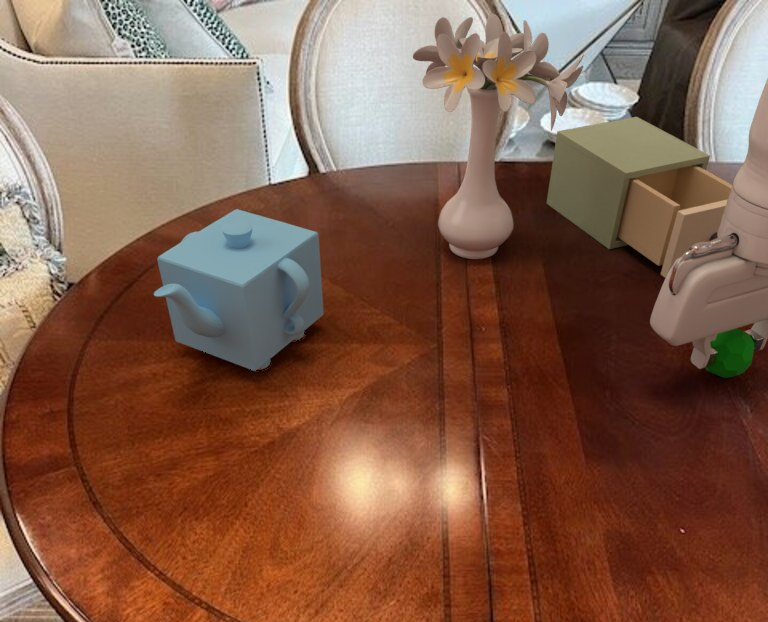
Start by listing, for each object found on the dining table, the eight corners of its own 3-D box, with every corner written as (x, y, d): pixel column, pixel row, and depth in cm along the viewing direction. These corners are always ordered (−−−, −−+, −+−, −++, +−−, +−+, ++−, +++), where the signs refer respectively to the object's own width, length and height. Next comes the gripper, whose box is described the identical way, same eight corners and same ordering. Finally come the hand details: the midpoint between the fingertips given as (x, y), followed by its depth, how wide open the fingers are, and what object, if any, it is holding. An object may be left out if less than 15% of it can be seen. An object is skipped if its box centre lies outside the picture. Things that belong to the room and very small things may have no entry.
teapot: (231, 295, 91) (214, 185, 82) (344, 333, 85) (339, 220, 76) (121, 374, 80) (87, 257, 71) (241, 424, 75) (221, 303, 65)
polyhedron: (721, 392, 78) (736, 351, 74) (684, 367, 81) (697, 327, 77) (756, 376, 80) (772, 336, 76) (719, 353, 83) (733, 313, 79)
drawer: (749, 264, 94) (771, 200, 89) (673, 284, 91) (691, 219, 86) (670, 214, 104) (686, 154, 98) (599, 230, 101) (611, 169, 95)
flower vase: (548, 281, 93) (587, 45, 76) (397, 263, 96) (400, 33, 78) (556, 231, 102) (592, 10, 84) (417, 217, 105) (424, 0, 87)
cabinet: (688, 230, 103) (710, 155, 96) (609, 249, 99) (625, 173, 92) (621, 187, 112) (636, 116, 105) (546, 203, 108) (557, 131, 101)
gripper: (704, 265, 64) (662, 400, 74) (887, 217, 70) (825, 348, 80) (656, 232, 68) (622, 365, 78) (832, 189, 74) (780, 317, 84)
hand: (726, 356), depth 79 cm, fingers closed on polyhedron, 5 cm apart
